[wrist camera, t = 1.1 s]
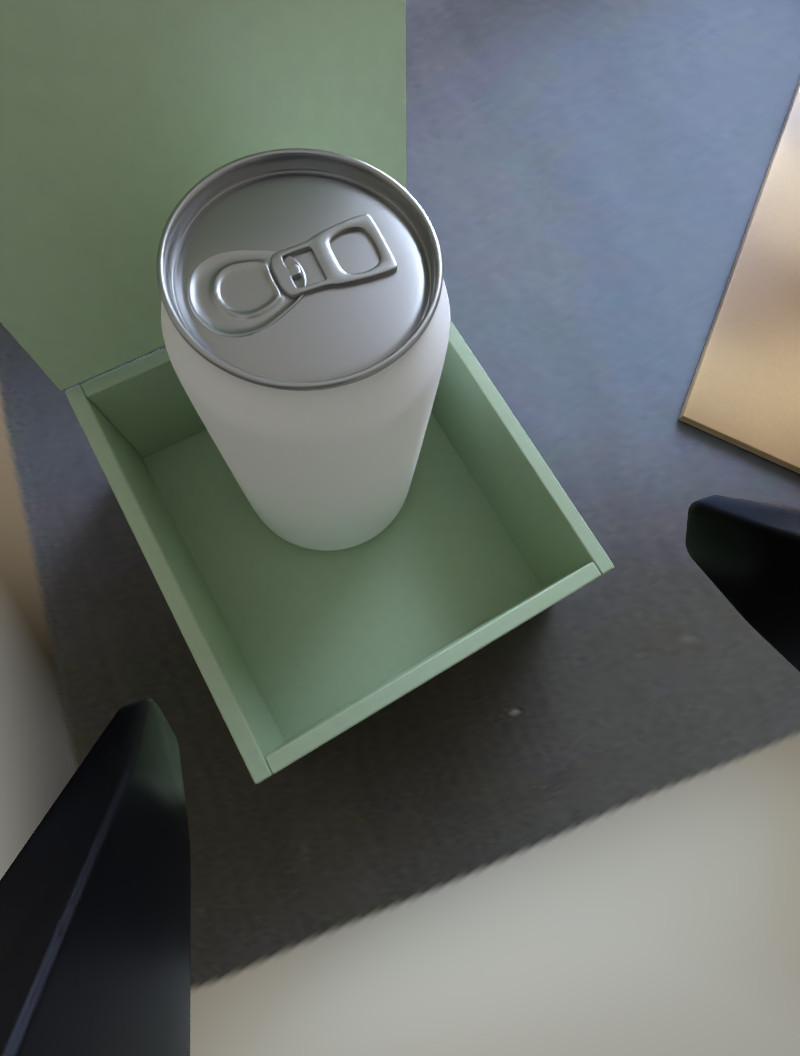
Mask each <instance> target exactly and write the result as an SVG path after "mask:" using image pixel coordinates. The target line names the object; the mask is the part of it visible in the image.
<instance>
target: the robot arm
mask: <svg viewBox="0 0 800 1056" xmlns="http://www.w3.org/2000/svg"><path fill="white" fill-rule="evenodd" d="M686 548H687V551H688V553H689V555H690V556H691V558H692V559H693V560H694V561H695V562H696V563H697V565H698V566H699V567H700V568H701V569H702V570H703V571H704V573H705V574H706V575H707V576H708V577H709V578H710V580H711V581H712V582H713V583H714V584H715V585H716V586H717V588H718V589H719V590H720V591H721V592H722V593H723V595H724V596H725V597H726V598H727V599H728V600H729V601H730V603H731V604H732V605H733V606H734V607H735V608H736V610H737V611H738V612H739V613H740V614H741V615H742V616H743V617H744V618H745V620H746V621H747V622H748V623H749V624H750V625H751V626H752V627H753V628H754V629H755V630H756V631H757V632H758V633H759V634H760V635H761V636H762V637H764V638H765V639H766V640H767V641H768V642H769V643H770V644H771V645H772V646H773V647H774V648H775V649H776V650H777V651H778V652H779V653H780V654H781V655H783V656H784V657H785V658H786V659H787V660H788V661H789V662H790V663H791V664H792V665H793V666H794V667H795V668H796V669H797V670H798V671H799V672H800V508H793V507H787V506H781V505H775V504H769V503H763V502H756V501H750V500H744V499H738V498H732V497H725V496H719V495H713V496H709V497H706V498H703V499H701V500H698V501H695V502H694V503H692V504H691V506H690V508H689V510H688V520H687V532H686ZM190 912H191V859H190V840H189V829H188V821H187V812H186V803H185V795H184V786H183V778H182V769H181V761H180V752H179V746H178V741H177V738H176V736H175V733H174V732H173V730H172V728H171V727H170V725H169V723H168V722H167V720H166V718H165V717H164V715H163V714H162V712H161V710H160V709H159V707H158V705H157V704H156V702H155V701H154V700H152V699H150V698H144V699H141V700H139V701H136V702H133V703H130V704H127V705H125V706H123V707H121V708H120V709H119V710H118V712H117V713H116V714H115V716H114V717H113V719H112V720H111V722H110V723H109V725H108V726H107V727H106V729H105V730H104V732H103V733H102V735H101V736H100V737H99V739H98V740H97V742H96V743H95V745H94V746H93V748H92V749H91V750H90V752H89V753H88V755H87V756H86V758H85V759H84V761H83V762H82V763H81V765H80V766H79V768H78V769H77V771H76V772H75V774H74V775H73V777H72V778H71V779H70V781H69V782H68V784H67V785H66V787H65V788H64V789H63V791H62V792H61V794H60V795H59V797H58V798H57V800H56V801H55V803H54V804H53V805H52V807H51V808H50V810H49V811H48V813H47V814H46V815H45V817H44V818H43V820H42V821H41V823H40V824H39V826H38V827H37V828H36V830H35V831H34V833H33V834H32V836H31V837H30V838H29V840H28V841H27V843H26V844H25V846H24V847H23V849H22V850H21V851H20V853H19V854H18V856H17V857H16V859H15V860H14V862H13V863H12V864H11V866H10V867H9V869H8V870H7V872H6V873H5V875H4V876H3V877H2V879H1V880H0V1056H190Z"/></svg>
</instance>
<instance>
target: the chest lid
mask: <svg viewBox="0 0 800 1056" xmlns="http://www.w3.org/2000/svg"><path fill="white" fill-rule="evenodd" d="M285 148H309V149H319V150H326V151H331V152H336V153H340V154H343V155H347V156H350V157H353V158H356V159H358V160H361V161H363V162H365V163H368V164H370V165H372V166H374V167H376V168H377V169H379V170H381V171H383V172H384V173H386V174H387V175H389V176H390V177H392V178H393V179H394V180H396V181H397V182H398V183H399V184H401V185H402V186H403V187H404V188H405V189H406V0H0V323H1V324H2V325H3V326H4V327H5V328H6V329H7V331H8V332H9V333H10V334H11V335H12V336H13V337H14V338H15V340H16V341H17V342H18V343H19V344H20V345H21V346H22V348H23V349H24V350H25V351H26V352H27V353H28V354H29V356H30V357H31V358H32V359H33V360H34V361H35V362H36V363H37V365H38V366H39V367H40V368H41V369H42V370H43V371H44V373H45V374H46V375H47V376H48V377H49V378H50V379H51V381H52V382H53V383H54V384H55V385H56V386H57V387H58V388H59V389H60V390H64V389H66V388H69V387H71V386H73V385H76V384H78V383H80V382H83V381H85V380H87V379H90V378H92V377H94V376H97V375H99V374H101V373H104V372H106V371H108V370H111V369H113V368H115V367H118V366H120V365H122V364H125V363H127V362H129V361H131V360H134V359H136V358H138V357H141V356H143V355H145V354H148V353H150V352H152V351H155V350H157V349H159V348H162V347H164V346H165V342H164V338H163V333H162V325H161V302H162V299H161V296H160V292H159V287H158V282H157V272H156V262H157V252H158V246H159V242H160V238H161V235H162V232H163V229H164V227H165V224H166V222H167V220H168V218H169V216H170V214H171V213H172V211H173V210H174V208H175V207H176V205H177V204H178V202H179V201H180V200H181V199H182V197H183V196H184V195H185V194H186V193H187V192H188V191H189V190H190V189H191V188H192V187H193V186H194V185H195V184H196V183H198V182H199V181H200V180H201V179H203V178H204V177H205V176H207V175H208V174H210V173H211V172H213V171H214V170H216V169H218V168H219V167H221V166H223V165H225V164H227V163H229V162H232V161H234V160H236V159H239V158H242V157H245V156H248V155H251V154H255V153H259V152H263V151H268V150H275V149H285Z"/></svg>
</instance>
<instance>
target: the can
mask: <svg viewBox="0 0 800 1056" xmlns="http://www.w3.org/2000/svg"><path fill="white" fill-rule="evenodd" d="M156 272H157V282H158V287H159V292H160V296H161V299H162V302H161V325H162V333H163V338H164V342H165V346H166V349H167V352H168V355H169V358H170V361H171V363H172V366H173V368H174V370H175V372H176V374H177V376H178V378H179V380H180V382H181V384H182V386H183V388H184V390H185V391H186V393H187V395H188V397H189V399H190V400H191V402H192V404H193V406H194V408H195V409H196V411H197V413H198V415H199V416H200V418H201V420H202V422H203V423H204V425H205V427H206V429H207V431H208V432H209V434H210V436H211V438H212V439H213V441H214V443H215V444H216V446H217V448H218V450H219V451H220V453H221V455H222V457H223V458H224V460H225V462H226V464H227V465H228V467H229V469H230V470H231V472H232V474H233V476H234V477H235V479H236V481H237V482H238V484H239V486H240V487H241V489H242V491H243V493H244V494H245V496H246V498H247V499H248V501H249V502H250V504H251V506H252V507H253V509H254V510H255V512H256V513H257V515H258V516H259V517H260V519H261V520H262V521H263V522H264V523H265V525H266V526H267V527H268V528H269V529H270V530H271V531H273V532H274V533H275V534H276V535H278V536H279V537H281V538H282V539H284V540H286V541H288V542H290V543H292V544H294V545H297V546H300V547H303V548H307V549H312V550H321V551H334V550H342V549H347V548H351V547H354V546H357V545H360V544H362V543H364V542H366V541H368V540H370V539H372V538H373V537H375V536H376V535H378V534H379V533H381V532H382V531H383V530H384V529H385V528H386V527H387V526H388V525H389V524H390V523H391V522H392V521H393V520H394V518H395V517H396V516H397V514H398V513H399V511H400V509H401V508H402V506H403V504H404V502H405V499H406V497H407V494H408V491H409V488H410V485H411V481H412V478H413V474H414V471H415V467H416V464H417V460H418V457H419V453H420V450H421V446H422V443H423V439H424V435H425V432H426V428H427V424H428V421H429V417H430V414H431V410H432V406H433V402H434V399H435V395H436V391H437V388H438V384H439V380H440V376H441V372H442V368H443V365H444V360H445V356H446V351H447V346H448V341H449V331H450V306H449V299H448V294H447V290H446V286H445V283H444V280H443V258H442V252H441V247H440V243H439V240H438V237H437V234H436V232H435V229H434V227H433V225H432V223H431V221H430V219H429V217H428V216H427V214H426V213H425V211H424V210H423V208H422V207H421V205H420V204H419V203H418V202H417V200H416V199H415V198H414V197H413V196H412V195H411V194H410V193H409V192H408V191H407V190H406V189H405V188H404V187H403V186H402V185H401V184H399V183H398V182H397V181H396V180H394V179H393V178H392V177H390V176H389V175H387V174H386V173H384V172H383V171H381V170H379V169H377V168H376V167H374V166H372V165H370V164H368V163H365V162H363V161H361V160H358V159H356V158H353V157H350V156H347V155H343V154H340V153H336V152H331V151H326V150H319V149H309V148H285V149H275V150H268V151H263V152H259V153H255V154H251V155H248V156H245V157H242V158H239V159H236V160H234V161H232V162H229V163H227V164H225V165H223V166H221V167H219V168H218V169H216V170H214V171H213V172H211V173H210V174H208V175H207V176H205V177H204V178H203V179H201V180H200V181H199V182H198V183H196V184H195V185H194V186H193V187H192V188H191V189H190V190H189V191H188V192H187V193H186V194H185V195H184V196H183V197H182V199H181V200H180V201H179V202H178V204H177V205H176V207H175V208H174V210H173V211H172V213H171V214H170V216H169V218H168V220H167V222H166V224H165V227H164V229H163V232H162V235H161V238H160V242H159V246H158V252H157V262H156Z"/></svg>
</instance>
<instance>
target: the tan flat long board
mask: <svg viewBox="0 0 800 1056" xmlns="http://www.w3.org/2000/svg"><path fill="white" fill-rule="evenodd" d="M679 420H680V421H682V422H685V423H687V424H689V425H691V426H694V427H696V428H698V429H700V430H703V431H705V432H707V433H709V434H711V435H714V436H716V437H718V438H720V439H723V440H725V441H727V442H729V443H731V444H734V445H736V446H738V447H740V448H743V449H745V450H747V451H749V452H751V453H754V454H756V455H758V456H760V457H763V458H765V459H767V460H769V461H771V462H774V463H776V464H778V465H780V466H783V467H785V468H787V469H789V470H791V471H794V472H796V473H798V474H800V80H799V82H798V85H797V88H796V91H795V94H794V97H793V99H792V102H791V105H790V108H789V111H788V113H787V116H786V119H785V122H784V125H783V127H782V130H781V133H780V136H779V139H778V141H777V144H776V147H775V150H774V153H773V155H772V158H771V161H770V164H769V167H768V169H767V172H766V175H765V178H764V181H763V183H762V186H761V189H760V192H759V195H758V198H757V200H756V203H755V206H754V209H753V212H752V214H751V217H750V220H749V223H748V226H747V228H746V231H745V234H744V237H743V240H742V242H741V245H740V248H739V251H738V254H737V256H736V259H735V262H734V265H733V268H732V270H731V273H730V276H729V279H728V282H727V284H726V287H725V290H724V293H723V296H722V299H721V301H720V304H719V307H718V310H717V313H716V315H715V318H714V321H713V324H712V327H711V329H710V332H709V335H708V338H707V341H706V343H705V346H704V349H703V352H702V355H701V357H700V360H699V363H698V366H697V369H696V371H695V374H694V377H693V380H692V383H691V385H690V388H689V391H688V394H687V397H686V400H685V402H684V405H683V408H682V411H681V414H680V416H679Z"/></svg>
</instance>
